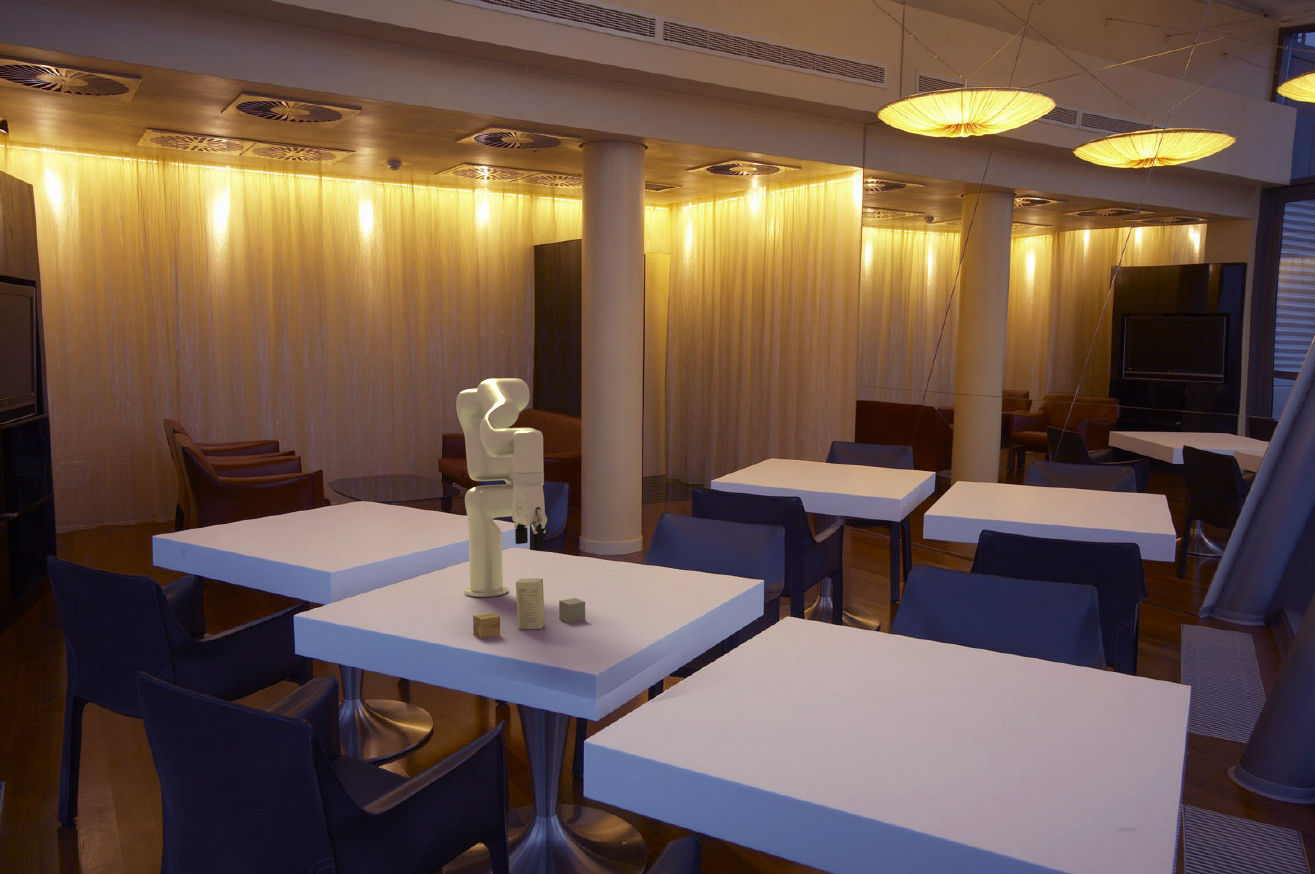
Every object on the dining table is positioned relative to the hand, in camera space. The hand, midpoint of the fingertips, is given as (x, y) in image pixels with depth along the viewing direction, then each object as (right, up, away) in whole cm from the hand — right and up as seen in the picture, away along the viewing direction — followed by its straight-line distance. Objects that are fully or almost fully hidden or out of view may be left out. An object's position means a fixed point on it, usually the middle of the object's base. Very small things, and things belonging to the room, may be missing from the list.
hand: (529, 546), depth 228 cm
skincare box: (0, -21, +2) cm, 21 cm away
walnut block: (-10, -22, -5) cm, 24 cm away
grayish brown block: (+10, -20, +8) cm, 24 cm away
